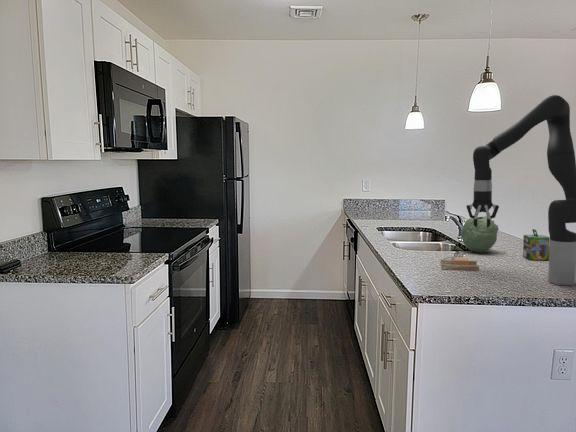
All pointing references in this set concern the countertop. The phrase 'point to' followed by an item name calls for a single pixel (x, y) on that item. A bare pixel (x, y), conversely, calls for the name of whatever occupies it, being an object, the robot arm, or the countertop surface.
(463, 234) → the cabbage
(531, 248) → the chalk box
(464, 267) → the chute
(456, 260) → the terracotta block
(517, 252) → the countertop surface
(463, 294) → the countertop surface
